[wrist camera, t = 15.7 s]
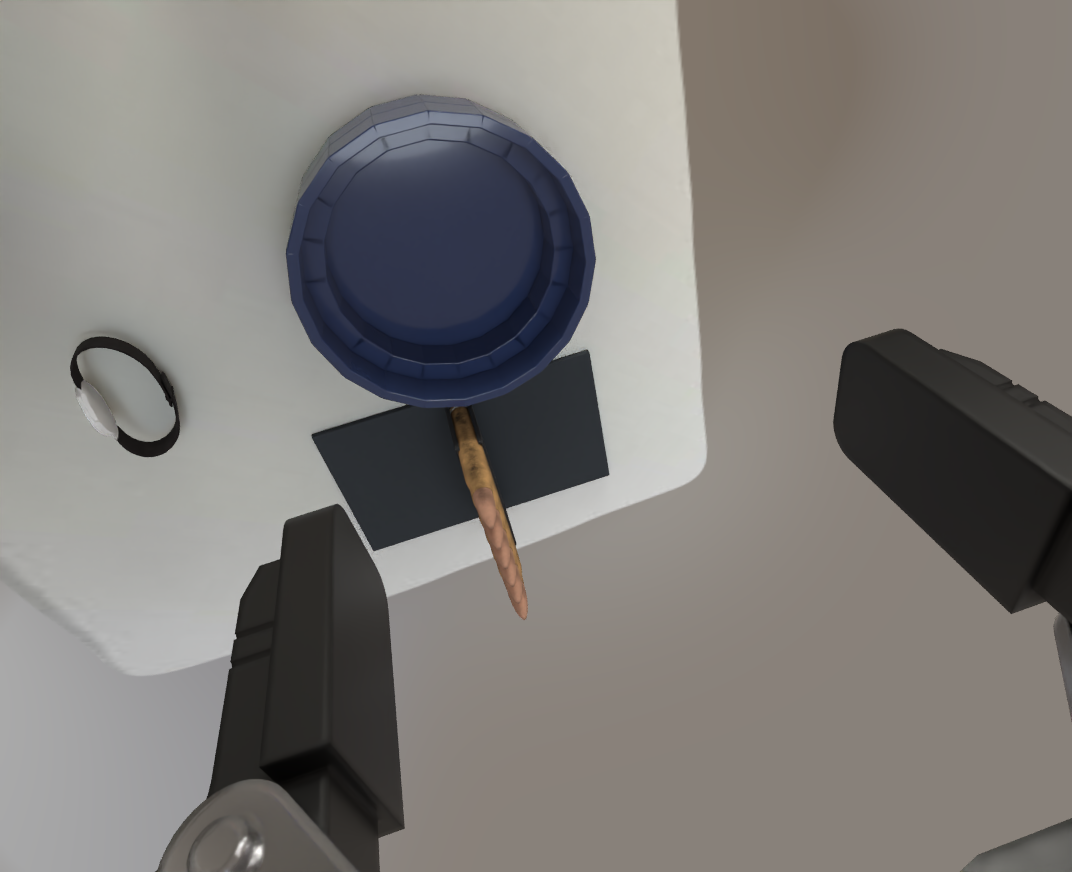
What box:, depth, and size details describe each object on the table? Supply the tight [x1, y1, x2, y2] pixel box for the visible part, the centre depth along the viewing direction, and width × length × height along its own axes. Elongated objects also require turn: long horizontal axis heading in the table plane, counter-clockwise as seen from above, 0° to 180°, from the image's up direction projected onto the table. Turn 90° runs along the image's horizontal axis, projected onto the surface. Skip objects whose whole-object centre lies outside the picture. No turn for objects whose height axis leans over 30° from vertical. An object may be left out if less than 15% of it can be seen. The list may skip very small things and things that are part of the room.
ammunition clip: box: [444, 405, 528, 620], centre depth 42 cm, size 11×2×12 cm, turn 12°
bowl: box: [286, 94, 596, 408], centre depth 35 cm, size 16×16×5 cm
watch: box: [70, 337, 180, 457], centre depth 36 cm, size 8×5×4 cm, turn 10°
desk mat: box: [312, 350, 609, 551], centre depth 47 cm, size 20×12×1 cm, turn 102°
